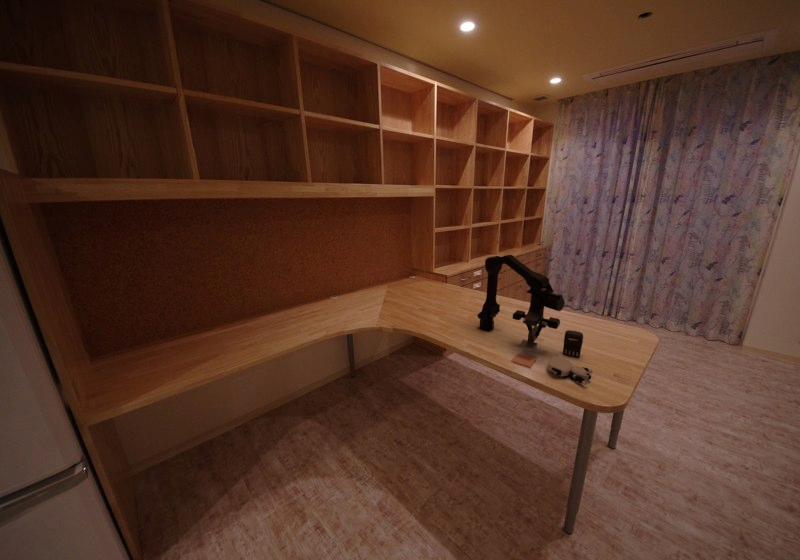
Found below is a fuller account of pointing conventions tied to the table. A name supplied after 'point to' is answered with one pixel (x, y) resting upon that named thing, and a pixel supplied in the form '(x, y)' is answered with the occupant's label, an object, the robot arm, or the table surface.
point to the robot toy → (568, 369)
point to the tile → (523, 360)
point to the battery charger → (572, 343)
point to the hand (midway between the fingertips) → (533, 336)
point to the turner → (530, 340)
